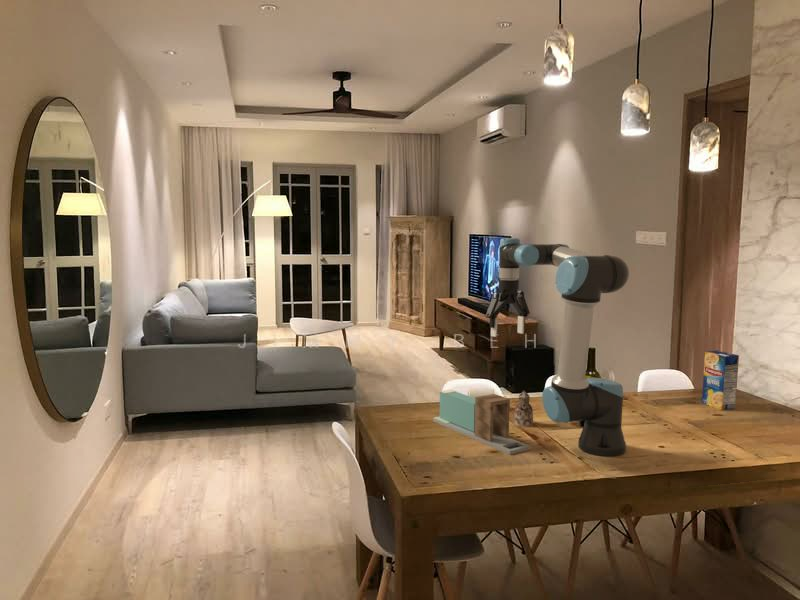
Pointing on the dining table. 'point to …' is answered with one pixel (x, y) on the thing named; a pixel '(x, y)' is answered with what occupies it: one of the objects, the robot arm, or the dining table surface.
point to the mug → (479, 392)
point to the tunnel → (491, 416)
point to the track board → (498, 442)
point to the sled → (458, 409)
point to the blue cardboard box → (720, 379)
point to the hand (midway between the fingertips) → (507, 334)
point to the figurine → (523, 411)
